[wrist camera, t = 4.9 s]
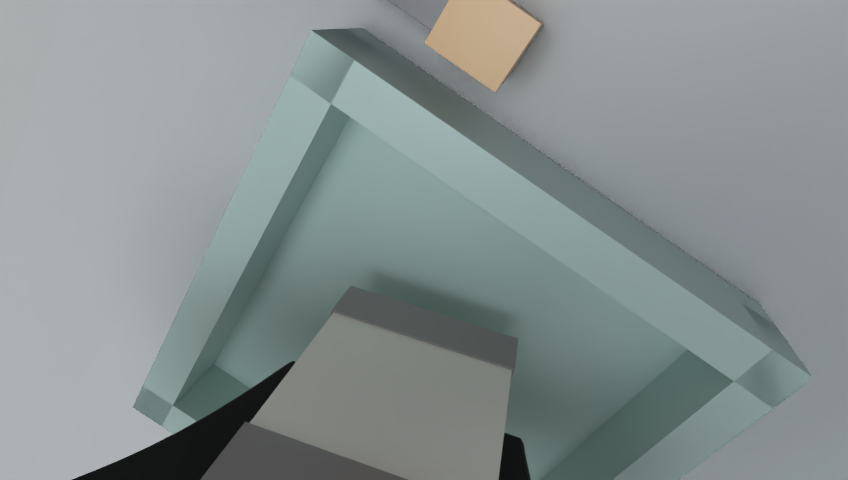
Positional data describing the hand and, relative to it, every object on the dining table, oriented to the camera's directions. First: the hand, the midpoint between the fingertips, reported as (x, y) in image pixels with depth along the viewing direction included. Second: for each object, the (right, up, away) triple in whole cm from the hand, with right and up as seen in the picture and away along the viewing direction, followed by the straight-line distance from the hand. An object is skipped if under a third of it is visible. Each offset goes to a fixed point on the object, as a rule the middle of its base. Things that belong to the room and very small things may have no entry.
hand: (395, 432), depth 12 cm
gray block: (0, +1, +1) cm, 2 cm away
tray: (+1, +2, +4) cm, 4 cm away
